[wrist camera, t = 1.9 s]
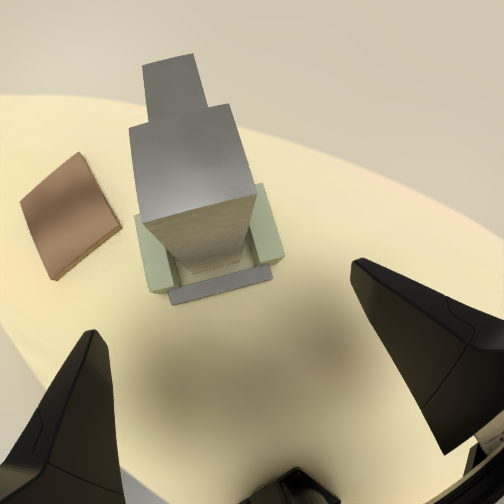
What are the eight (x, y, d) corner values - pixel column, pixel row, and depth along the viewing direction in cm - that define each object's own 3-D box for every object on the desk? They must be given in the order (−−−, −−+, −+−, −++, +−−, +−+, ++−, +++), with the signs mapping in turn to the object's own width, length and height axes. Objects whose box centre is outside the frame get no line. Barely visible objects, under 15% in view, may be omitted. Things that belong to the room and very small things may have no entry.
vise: (281, 276, 21) (289, 271, 18) (163, 307, 20) (153, 307, 17) (257, 198, 22) (262, 182, 19) (145, 227, 21) (134, 215, 18)
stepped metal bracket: (238, 261, 21) (257, 193, 8) (192, 274, 21) (141, 223, 8) (216, 180, 22) (211, 50, 9) (173, 191, 22) (124, 70, 9)
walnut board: (122, 228, 21) (118, 224, 20) (57, 280, 20) (50, 279, 19) (83, 156, 22) (78, 151, 21) (25, 205, 20) (19, 201, 20)
